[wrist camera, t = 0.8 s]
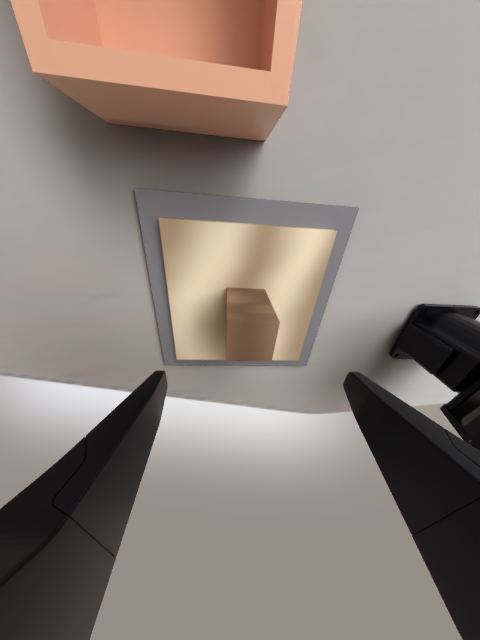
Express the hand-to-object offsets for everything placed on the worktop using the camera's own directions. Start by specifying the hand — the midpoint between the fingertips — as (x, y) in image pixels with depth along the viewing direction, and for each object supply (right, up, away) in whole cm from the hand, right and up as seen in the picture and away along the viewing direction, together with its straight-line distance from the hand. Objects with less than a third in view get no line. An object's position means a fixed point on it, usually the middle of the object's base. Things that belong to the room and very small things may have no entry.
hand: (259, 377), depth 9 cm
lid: (-1, +4, +7) cm, 9 cm away
